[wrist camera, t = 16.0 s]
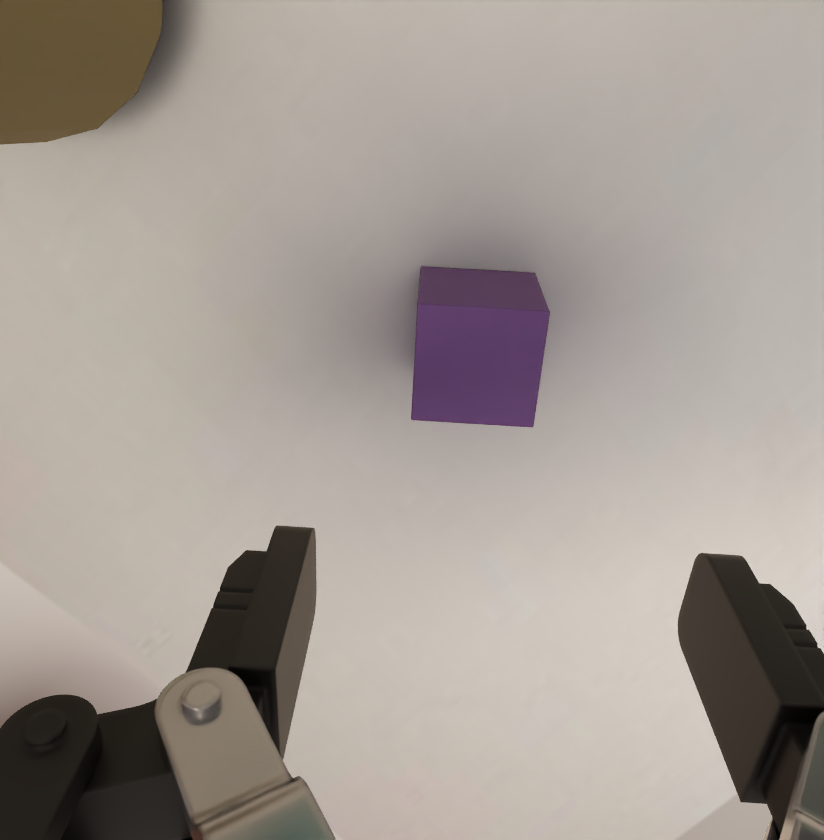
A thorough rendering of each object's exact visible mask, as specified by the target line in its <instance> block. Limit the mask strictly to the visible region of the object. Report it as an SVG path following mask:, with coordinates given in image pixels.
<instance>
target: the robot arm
mask: <svg viewBox="0 0 824 840" xmlns="http://www.w3.org/2000/svg"><path fill="white" fill-rule="evenodd" d="M315 605H316V538H315V529H314V528H306V527H290V526H276V527H275V529H274V531H273V534H272V537H271V540H270V543H269V546H268V549H267V552H265V551H249V550H246V551H245V552H244V553H243V554H242V555H241V556H240V557H239V558H238V559H236V560H235V561H234V562H233V563H232V564H231V565H230V566H229V567H228V569H227V572H226V574H225V577H224V579H223V582H222V584H221V587H220V592H218V594H217V597H216V599H215V602H214V606H213V608H212V609H211V612H210V614H209V617H208V619H207V622H206V624H205V627H204V629H203V632H202V634H201V637H200V639H199V642H198V644H197V647H196V649H195V652H194V654H193V657H192V659H191V662H190V664H189V667H188V669H187V671H186V673H184V674H182V675H180V676H179V677H177V678H175V679H174V680H173V681H171V682H170V683H169V684H168V685H167V686H166V687H165V688H164V689H163V690H162V692H161V693H160V695H159V697H158V698H157V699H155V700H154V701H151V702H149V703H146V704H143V705H140V706H136V707H132V708H127V709H122V710H117V711H112V712H107V713H103V714H98V715H97V713H96V710H95V708H94V707H93V705H92V704H91V703H89V702H88V701H87V700H85V699H83V698H81V697H78V696H74V695H54V696H49V697H45V698H42V699H39V700H36V701H34V702H32V703H30V704H28V705H26V706H24V707H23V708H21V709H20V710H18V711H17V712H16V713H14V714H13V715H12V716H11V717H10V718H9V719H8V720H7V721H6V722H5V723H4V724H3V726H2V727H1V728H0V840H336V838H335V837H334V835H333V833H332V831H331V829H330V827H329V825H328V823H327V821H326V819H325V817H324V815H323V813H322V811H321V809H320V807H319V805H318V803H317V802H316V800H315V798H314V796H313V794H312V792H311V790H310V788H309V787H308V785H307V783H306V782H305V781H304V780H303V779H302V778H301V777H300V776H298V777H295V778H292V777H291V775H290V774H289V772H288V770H287V768H286V766H285V764H284V762H283V757H284V753H285V748H286V744H287V739H288V735H289V730H290V726H291V721H292V716H293V712H294V707H295V703H296V698H297V694H298V689H299V684H300V680H301V675H302V671H303V666H304V662H305V657H306V653H307V648H308V643H309V639H310V634H311V630H312V625H313V620H314V614H315ZM678 635H679V642H680V646H681V649H682V651H683V654H684V656H685V659H686V661H687V664H688V667H689V669H690V672H691V674H692V677H693V680H694V682H695V685H696V687H697V690H698V692H699V695H700V698H701V700H702V703H703V705H704V708H705V711H706V713H707V716H708V718H709V721H710V723H711V726H712V729H713V731H714V734H715V736H716V739H717V741H718V744H719V747H720V749H721V752H722V754H723V757H724V760H725V762H726V765H727V767H728V770H729V772H730V775H731V778H732V780H733V783H734V785H735V788H736V791H737V793H738V796H739V798H740V801H741V802H748V803H749V802H750V803H764V804H767V805H768V808H769V810H770V812H771V815H772V819H771V821H770V823H769V825H768V828H767V830H766V834H765V837H764V840H824V654H823V652H822V650H821V649H820V648H818V647H817V642H816V641H815V639H814V637H813V636H812V634H811V632H810V631H809V630H807V629H806V624H805V623H804V621H803V619H802V618H801V616H800V614H799V613H798V611H797V610H796V608H795V606H794V605H793V604H792V603H791V602H790V601H789V600H788V599H787V598H786V597H784V596H783V595H782V594H781V593H780V592H779V591H778V590H776V589H775V588H774V587H773V586H772V585H771V584H759V582H758V581H757V579H756V577H755V575H754V574H753V572H752V570H751V568H750V567H749V565H748V563H747V562H746V560H745V559H744V558H743V557H742V556H739V555H723V554H707V553H701V554H699V555H698V556H697V557H696V559H695V562H694V565H693V568H692V572H691V575H690V578H689V582H688V585H687V589H686V592H685V595H684V599H683V602H682V606H681V609H680V613H679V618H678Z"/></svg>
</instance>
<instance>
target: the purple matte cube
mask: <svg viewBox="0 0 824 840" xmlns="http://www.w3.org/2000/svg"><path fill="white" fill-rule="evenodd" d="M549 315H550V311H549V309H548V306H547V303H546V301H545V298H544V296H543V293H542V290H541V288H540V285H539V282H538V280H537V277H536V275H535V273H526V272H509V271H492V270H475V269H458V268H441V267H424V266H422V267H421V271H420V282H419V293H418V304H417V321H416V339H415V358H414V376H413V394H412V412H411V419H412V420H421V421H437V422H454V423H470V424H486V425H503V426H519V427H533V425H534V418H535V411H536V404H537V397H538V391H539V384H540V377H541V370H542V363H543V356H544V349H545V342H546V336H547V329H548V322H549Z"/></svg>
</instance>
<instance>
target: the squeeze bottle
mask: <svg viewBox="0 0 824 840" xmlns="http://www.w3.org/2000/svg"><path fill="white" fill-rule="evenodd" d="M162 22H163V0H0V144H15V143H34V142H48V141H51V140H55V139H59V138H63V137H67V136H70V135H74V134H78V133H82V132H86V131H89V130H93V129H97V128H99V127H100V126H101V125H102V124H103V123H104V122H105V121H106V120H107V119H108V118H110V117H111V116H112V115H113V114H114V113H115V112H116V111H117V110H118V109H119V108H121V107H122V106H123V105H124V104H125V103H126V102H127V101H128V100H129V99H130V98H132V97H133V96H134V95H135V94H136V93H137V92H138V89H139V87H140V84H141V82H142V79H143V77H144V74H145V72H146V69H147V67H148V64H149V62H150V59H151V57H152V54H153V52H154V49H155V47H156V44H157V42H158V39H159V37H160V32H161V27H162Z"/></svg>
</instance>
